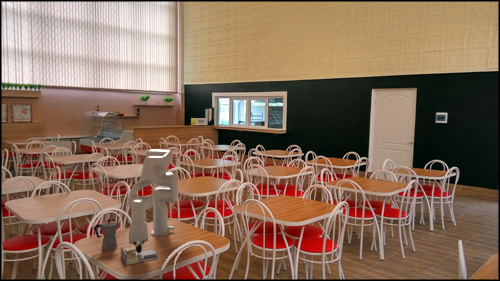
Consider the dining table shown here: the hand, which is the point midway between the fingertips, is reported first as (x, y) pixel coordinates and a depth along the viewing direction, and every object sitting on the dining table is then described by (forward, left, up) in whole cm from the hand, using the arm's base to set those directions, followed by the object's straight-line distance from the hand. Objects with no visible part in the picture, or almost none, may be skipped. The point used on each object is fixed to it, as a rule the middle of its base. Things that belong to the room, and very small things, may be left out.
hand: (138, 252), depth 213 cm
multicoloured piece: (0, 0, -3) cm, 3 cm away
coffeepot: (+14, -23, -3) cm, 27 cm away
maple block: (+5, 0, -1) cm, 5 cm away
